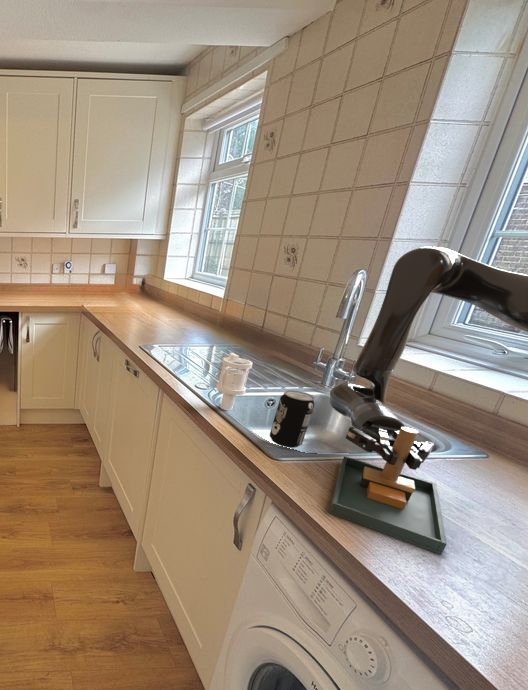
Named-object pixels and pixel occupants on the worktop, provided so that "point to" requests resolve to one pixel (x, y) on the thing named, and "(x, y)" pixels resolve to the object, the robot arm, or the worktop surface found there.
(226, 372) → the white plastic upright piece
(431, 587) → the worktop surface
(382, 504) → the tray
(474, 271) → the robot arm
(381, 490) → the orange wooden block
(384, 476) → the brush
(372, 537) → the worktop surface
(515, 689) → the worktop surface
